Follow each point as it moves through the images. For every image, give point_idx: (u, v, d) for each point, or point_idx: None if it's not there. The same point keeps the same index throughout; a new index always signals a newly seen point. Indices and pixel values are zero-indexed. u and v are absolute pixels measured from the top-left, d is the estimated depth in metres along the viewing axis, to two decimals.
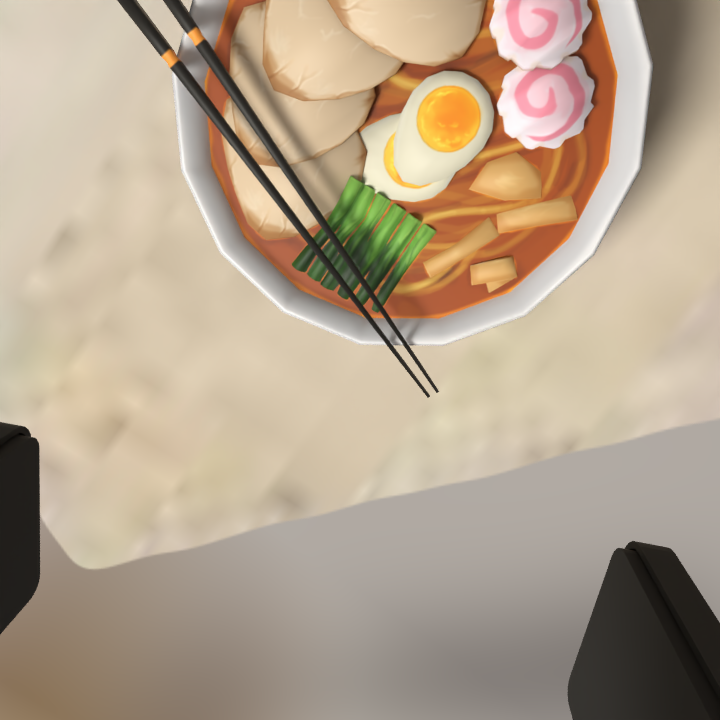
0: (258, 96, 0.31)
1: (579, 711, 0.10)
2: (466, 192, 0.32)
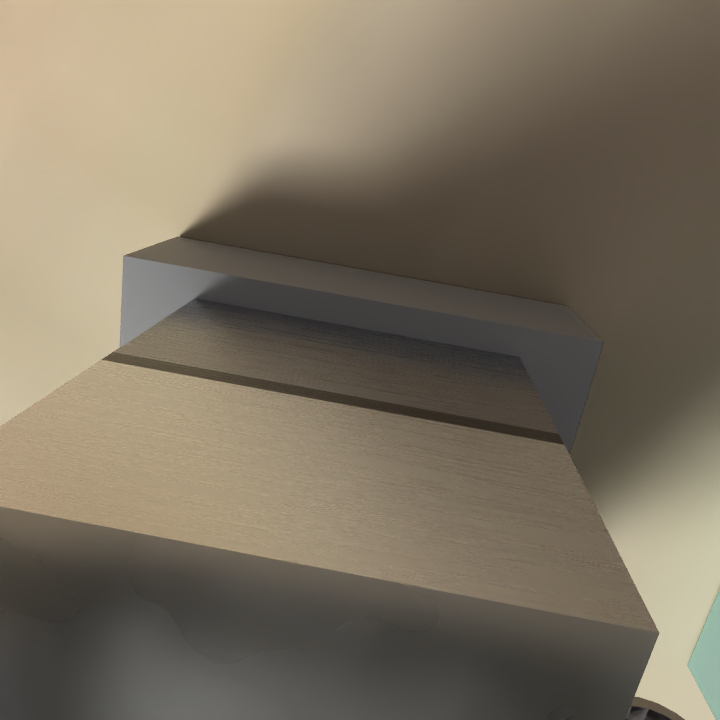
0: None
1: None
2: None
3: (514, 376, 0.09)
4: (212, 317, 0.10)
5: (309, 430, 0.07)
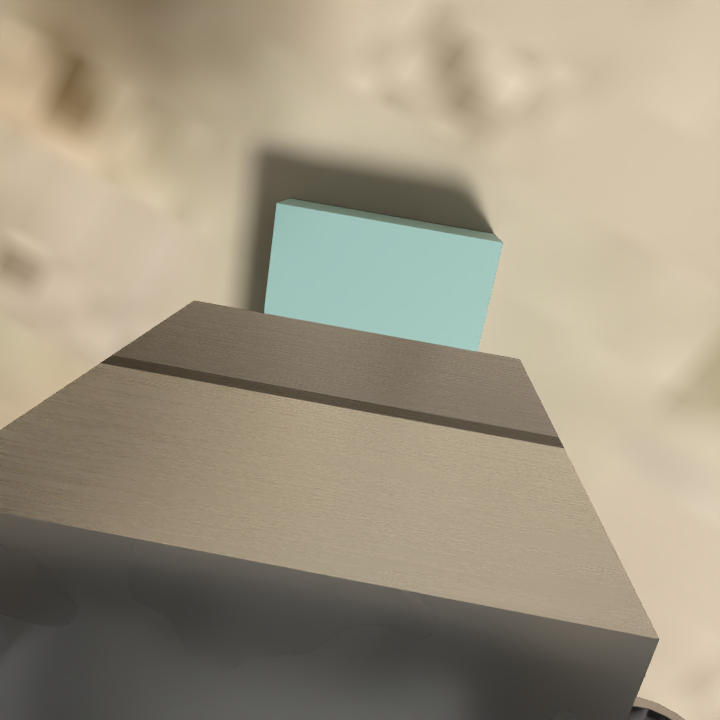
0: None
1: None
2: None
3: (513, 379, 0.09)
4: (212, 319, 0.10)
5: (308, 434, 0.07)
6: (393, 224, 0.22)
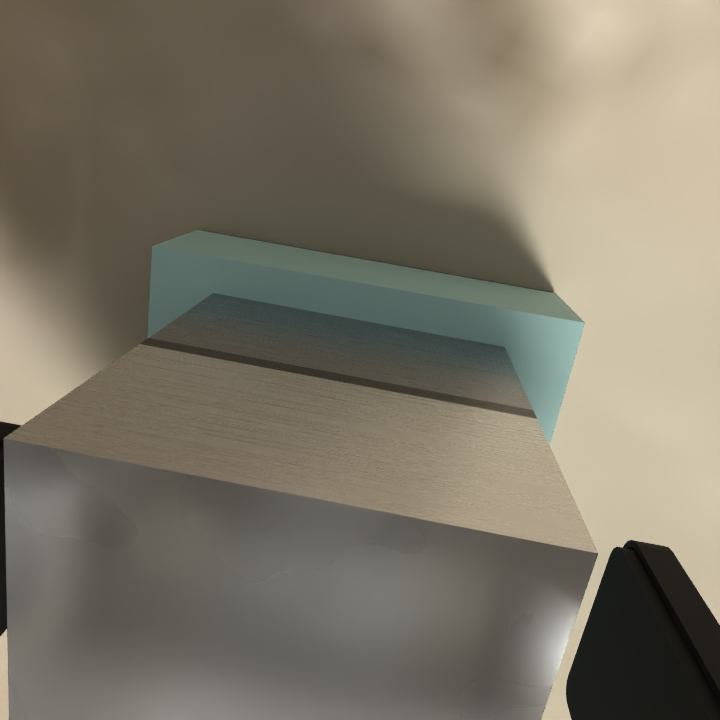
0: None
1: (577, 709, 0.10)
2: None
3: (498, 362, 0.11)
4: (230, 309, 0.11)
5: (319, 403, 0.08)
6: (374, 286, 0.11)
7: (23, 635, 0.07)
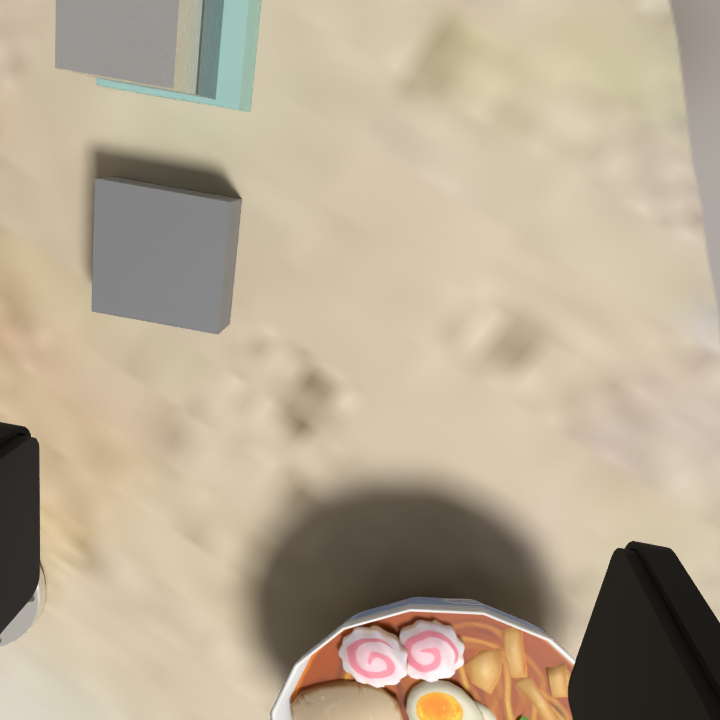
0: None
1: (579, 711, 0.10)
2: (493, 695, 0.42)
3: None
4: None
5: None
6: None
7: None
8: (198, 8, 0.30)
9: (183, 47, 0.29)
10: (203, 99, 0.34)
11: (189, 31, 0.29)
